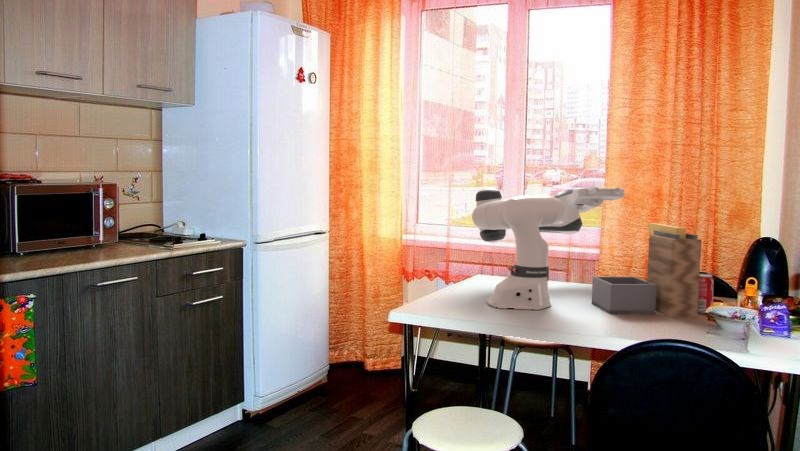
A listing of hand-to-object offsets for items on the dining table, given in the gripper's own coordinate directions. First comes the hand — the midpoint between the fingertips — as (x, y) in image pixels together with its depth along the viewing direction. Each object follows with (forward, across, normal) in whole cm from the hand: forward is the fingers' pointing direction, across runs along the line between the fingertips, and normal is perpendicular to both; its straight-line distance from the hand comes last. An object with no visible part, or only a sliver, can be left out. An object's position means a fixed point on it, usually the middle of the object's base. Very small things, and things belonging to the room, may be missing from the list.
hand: (607, 189), depth 255 cm
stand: (+27, -5, -50) cm, 57 cm away
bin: (+21, +10, -48) cm, 53 cm away
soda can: (+28, -16, -50) cm, 60 cm away
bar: (+28, -6, -23) cm, 37 cm away
